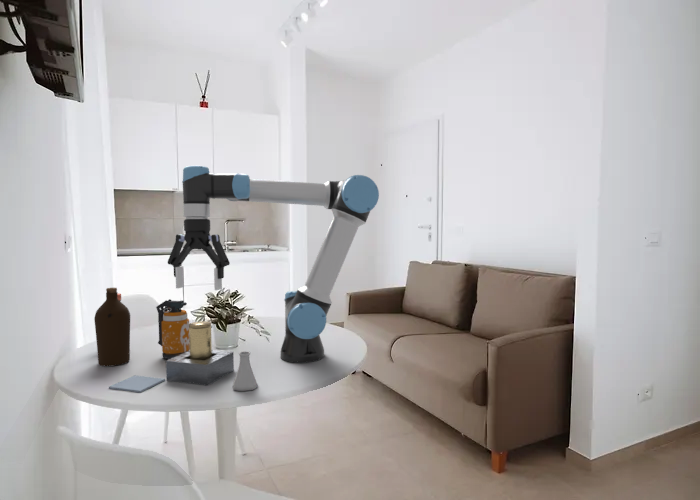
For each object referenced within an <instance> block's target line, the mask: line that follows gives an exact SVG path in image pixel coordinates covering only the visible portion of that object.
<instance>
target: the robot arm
mask: <svg viewBox="0 0 700 500" xmlns="http://www.w3.org/2000/svg"><path fill="white" fill-rule="evenodd" d="M210 172H211V171H210V169H209V167H207V166H205V165H187V166H185V167H184V168H183V169H182V182H181V183H182V198H183V206H182V208H183V209H182V210H183V217H184V218H185V219H183V231H184V233H185V234H184V233H183V234H182V233H181V234H179V233H178V234H176V235H175V240H174V241H175V242H174V244H173V248H172V250H171V251H170V252H171V253H170V254H169V258H168V259H167V264H168V265H170V266H172V267H173V277H174V278H175V289H183V288H184V287H185V284H184V283H185V282H184V279H185V278H184V277H185V276H184V266H183V265H182V264H183V263H184V261H185V260H186V258H187V257H188V255H190V253H191V251H193V250H202V251H203V252H204V253H206V255H207V257H209V259H210V260H211V261H212V263H213V264H214V266H215V267H213V272H214V273H213V278H214V279H213V280H214V281H213V282H214V291H219V290H223V279H224V277H225V269H224V268H225V267H227V266H230V265H231V264H230V260H229V258H228V256H227V254H226V251H225V249H224V248H223V247H224V246H223V245H222V243H221V236H220V235H219V234H218V233H217V234H211V233H210V231H211V220H210V219H209V218H210V217H211V206H210V205H211V204H210V202H211V201H210V200H211V199H213V200H214V199H218V200H219V199H222V200H223V199H225V200H227V201H229V202H252V203H253V202H255V203H270V204H284V205H288V204H289V205H303V206H304V205H305V206H316V207H317V206H319V207H324V208H325V210H331V211H332V215H333V217H332V219H331V222H330V225H329V227H328V229H327V232H326V234H325V237H324V239H323V241H322V243H321V245H320V248H319V251H318V253H317V255H316V257H315V260H314V263H313V265H312V267H311V269H310V272H309V274H308V276H307V279H306V282H305V284H304V285H303V286H301V287H299V288H297V290H289V291H287V292H285V294H284V299H283V301H284V312H285V313H284V325H285V326H284V328H285V329H284V330H285V332H284V335H285V336H284V339H283V341H282V344H281V348H280V359H281V360H283V361H285V362H289V363H300V364H301V363H311V362H316V360H317V361H319V359H320V360H322V359H324V357H325V348H324V345H323V341H322V339H321V336H320V334H321V333H323V331H324V330H325V328H326V325H327V315H328V313H329V310H330V309H331V306H332V304H333V301H332V299H331V293H332V292H333V291H332V290H333V288H334V287H335V283H337V279H338V277H339V274H340V272H341V270H342V267H343V264H344V262H345V260H346V258H347V255H348V253H349V250H350V248H351V246H352V244H353V241H354V238H355V236H356V234H357V231H358V229H359V227H361V226H363V225H365V224H366V222H367V220H368V218H369V216H370V213H371V211H372V210H373V209H374V208H375V207H376V205H377V204H378V202H379V198H380V191H379V188H378V186H377V184H376V183H375V181H374V180H373V179H372V178H370V177H368V176H366V175H364V174H354V175H351V176H349V177H348V178H346V179H343V180H336V181H331V180H328V181H326V182H325V183H318V182H303V181H301V182H300V181H289V180H274V179H273V180H272V179H271V180H270V179H258V178H257V179H256V178H255V179H254V178H250V176H249V175H248V174H247V173H238V172H237V173H212V172H211V173H210ZM184 242H185V244H184ZM210 242H211V243H212V245H211V243H210ZM213 248H214V249H213Z"/></svg>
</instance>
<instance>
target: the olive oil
mask: <svg viewBox="0 0 700 500" xmlns="http://www.w3.org/2000/svg"><path fill="white" fill-rule="evenodd" d="M105 291H106V293H105V301H104V302H103V303H102V304H101V305H100V306H99V307H98V308H97V309H96V311H95V315H94V319H93V320H94V329H95V339H96V351H97V363H98V365H99V366H101V367H117V366H121V365H125V364H126V363H129V362H130V360H131V359H130V358H131V355H130V354H131V352H130V351H131V350H130V349H131V348H130V346H131V345H130V344H131V313H130V311H129V308H128V307H127V305H125V304H124V303H123V302H122V301H119V300H118V294H117V293H118V288H117V287H107V288H106V289H105Z"/></svg>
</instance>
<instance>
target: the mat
mask: <svg viewBox="0 0 700 500" xmlns="http://www.w3.org/2000/svg"><path fill="white" fill-rule="evenodd" d="M165 381H166V378H162V377H151V376H146V375H136V374H135V375H132V376H130V377H128V378H126V379H123V380H121V381H118V382H116V383H114V384H112V385H109V386H108V389H111V390H119V391H127V392H134V393H142V392H144V391H146V390H149V389H151V388H154V387H156V386H157V385H158V384H159V385H160V384H161V383H163V382H165Z"/></svg>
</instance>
